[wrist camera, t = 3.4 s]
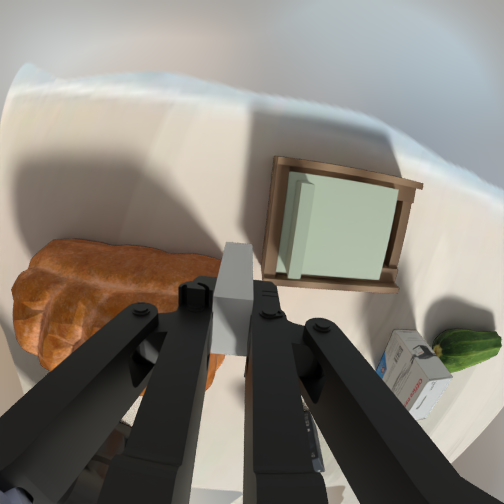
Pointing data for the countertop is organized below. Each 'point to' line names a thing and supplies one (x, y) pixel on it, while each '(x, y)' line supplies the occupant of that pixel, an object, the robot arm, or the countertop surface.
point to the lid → (335, 227)
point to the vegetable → (465, 348)
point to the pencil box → (324, 169)
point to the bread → (96, 292)
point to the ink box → (413, 372)
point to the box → (314, 443)
